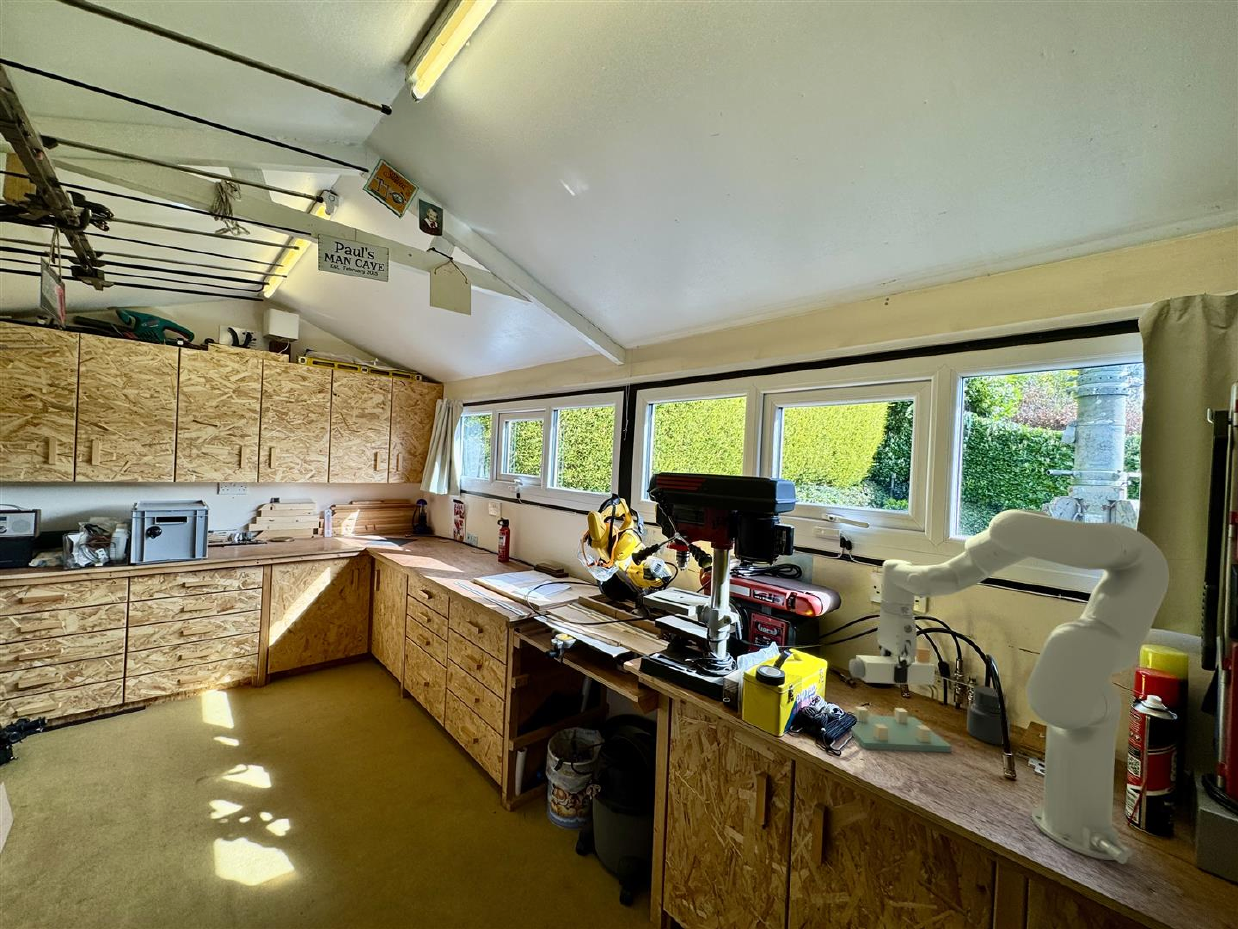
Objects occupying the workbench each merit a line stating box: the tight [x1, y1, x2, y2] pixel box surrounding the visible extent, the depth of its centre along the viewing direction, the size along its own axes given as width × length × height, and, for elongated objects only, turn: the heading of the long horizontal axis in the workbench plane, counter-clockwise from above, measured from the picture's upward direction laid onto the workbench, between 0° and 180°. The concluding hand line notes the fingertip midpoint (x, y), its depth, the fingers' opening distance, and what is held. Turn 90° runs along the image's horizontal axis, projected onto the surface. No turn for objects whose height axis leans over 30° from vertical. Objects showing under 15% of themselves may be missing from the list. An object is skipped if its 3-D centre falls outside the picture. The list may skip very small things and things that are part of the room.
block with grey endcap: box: [848, 647, 936, 686], centre depth 126 cm, size 5×20×8 cm, turn 92°
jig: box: [851, 706, 952, 753], centre depth 125 cm, size 14×22×4 cm, turn 93°
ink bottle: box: [966, 685, 1011, 746], centre depth 128 cm, size 10×9×12 cm
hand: (893, 677), depth 126 cm, fingers closed on block with grey endcap, 5 cm apart
